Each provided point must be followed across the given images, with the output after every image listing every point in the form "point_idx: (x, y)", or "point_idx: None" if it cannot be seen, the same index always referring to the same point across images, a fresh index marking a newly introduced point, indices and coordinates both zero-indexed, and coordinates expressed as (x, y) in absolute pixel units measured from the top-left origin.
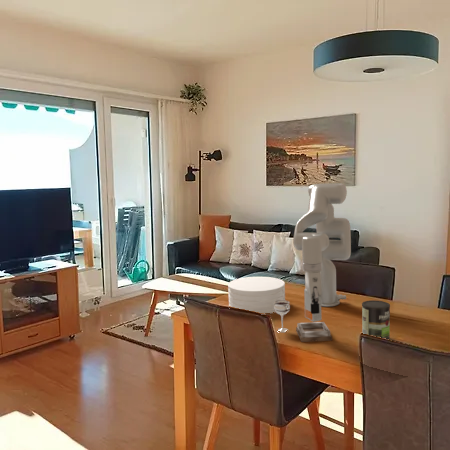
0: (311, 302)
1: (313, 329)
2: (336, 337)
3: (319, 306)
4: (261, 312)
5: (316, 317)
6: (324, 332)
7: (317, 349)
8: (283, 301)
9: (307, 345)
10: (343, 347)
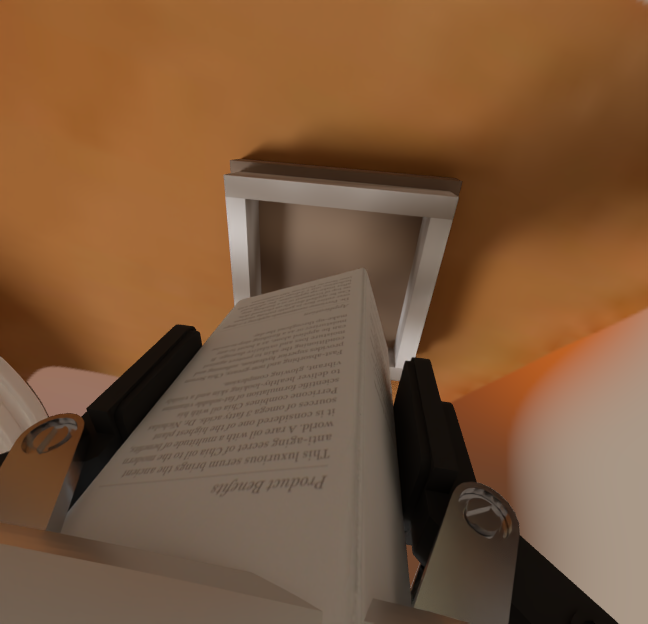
0: (424, 568)
1: (290, 264)
2: (410, 119)
3: (374, 380)
4: (31, 410)
5: (382, 336)
6: (444, 245)
7: (548, 314)
8: None
9: (467, 343)
10: (621, 133)
